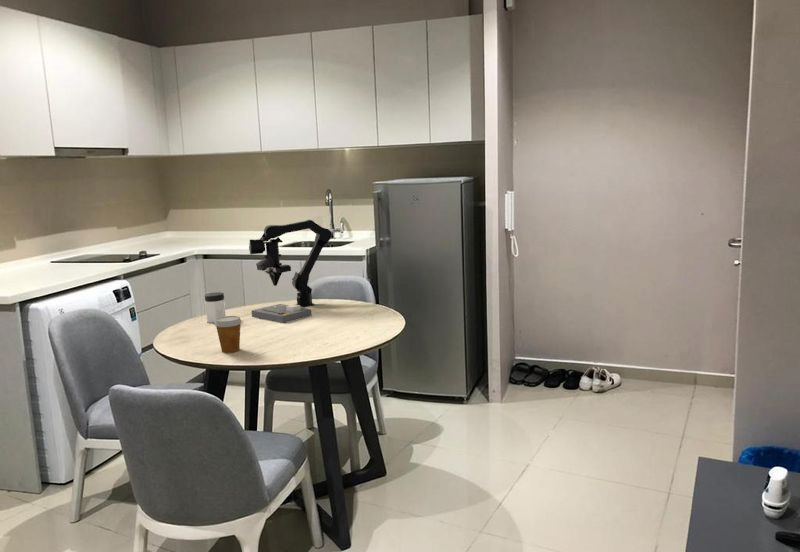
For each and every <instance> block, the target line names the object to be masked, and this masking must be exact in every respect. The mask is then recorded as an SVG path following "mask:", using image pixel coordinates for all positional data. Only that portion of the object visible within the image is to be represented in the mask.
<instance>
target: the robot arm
mask: <svg viewBox="0 0 800 552" xmlns="http://www.w3.org/2000/svg"><path fill="white" fill-rule="evenodd" d="M304 230H310V231H311V232H313V233H314V234H316V235H315V238H314V244H313V245H312V248H311V250H310V251H309V254H308V256H307V258H306V260H305V262H304V264H303V266H302V268H301V269H300V270H299V272H297V271H295V272H294V276H293V277H292V278H291V280H292V282H291V285H292V287H293V288H294V289H296V292H297V293H296V304H295V305H300V307H301V308H307V307H309V306H313V305H315V303H314V302H313V298H312V292H313V289H312V288H311V287H310V286H309V285H308V284H309V280H310V274H311V272H312V269H313V268H314V266H315V265H316V262H317V260H318V258H319V256H320V254H321V252H322V249H323V248H324V247H325V246H326V245H327V244H328V243H329V241H330V240H331V239H332V236H333V234H332V231H331V230H330V229H329V228H326V227H322V226H321V225H319V224H318V223H316V222H315V221H314V220H312V219H306V220H303V221H298V222H291V223H286V224H268V225H266V226H265V227H264V229H263V233H262V235H261V236H260V238H257V239H249V244H248V245H249V246H248V250H249V255H261V254H263V253H265V252H266V253H265V254H264V257H263V258H264V259H261V260H260V261H257V263H255V266H256V269H257V270H258V271H262V272H264V273H266V274H267V275H269V278H270V279H271V283H272V284H273V286H275V287H277V285H278V284H279V280H280V277H281V276H282V274H283V273H286V272H292V266H291V265H290V264H283V263H282V262H280V257H282V254H280V249H279V248H280V247H279V243H283V240H282V239H281V238H280V237H281V236H282V235H285V234H288V233H294V232H298V231H304Z"/></svg>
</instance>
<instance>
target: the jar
mask: <svg viewBox="0 0 800 552" xmlns="http://www.w3.org/2000/svg"><path fill="white" fill-rule="evenodd" d="M204 301H205V302H204V303H205V312H206V315H205V316H206V322H207V323H209V324H210V323H211V324H215V321H216V319H217V318H220V317H224V316H227V315H226V306H225V293H224V292H221V291H218V292H217V291H216V292H208V293H205V294H204Z"/></svg>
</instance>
